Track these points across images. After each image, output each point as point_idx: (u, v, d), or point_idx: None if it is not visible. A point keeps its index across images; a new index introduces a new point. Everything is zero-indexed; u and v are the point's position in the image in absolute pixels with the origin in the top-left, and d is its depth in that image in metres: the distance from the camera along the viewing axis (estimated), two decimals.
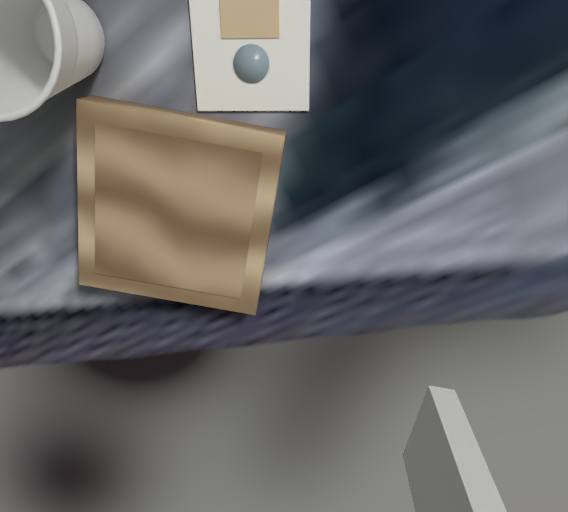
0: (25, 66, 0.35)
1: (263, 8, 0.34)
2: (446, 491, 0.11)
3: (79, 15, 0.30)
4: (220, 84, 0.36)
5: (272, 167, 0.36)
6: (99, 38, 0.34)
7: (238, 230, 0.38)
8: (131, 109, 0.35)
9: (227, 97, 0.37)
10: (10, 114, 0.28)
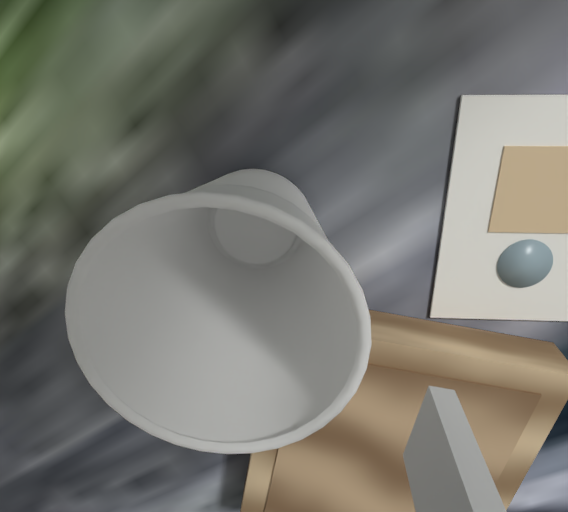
0: (204, 276, 0.23)
1: (562, 196, 0.23)
2: (446, 491, 0.11)
3: None
4: (471, 287, 0.25)
5: (550, 410, 0.25)
6: None
7: None
8: None
9: (478, 302, 0.26)
10: (252, 446, 0.17)
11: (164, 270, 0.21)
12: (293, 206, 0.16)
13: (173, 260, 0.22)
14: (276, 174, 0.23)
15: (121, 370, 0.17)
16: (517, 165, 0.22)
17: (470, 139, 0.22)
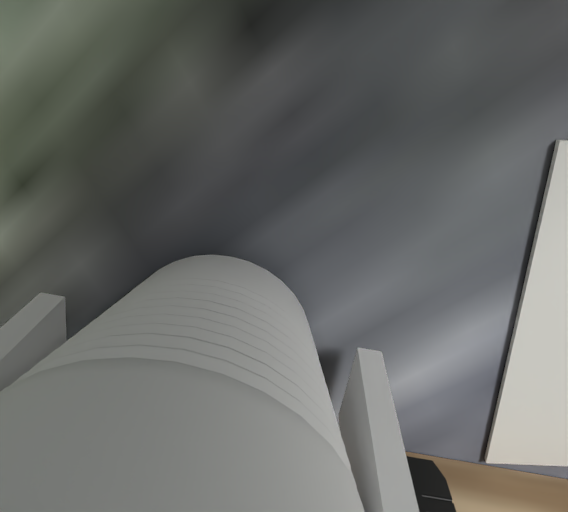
0: None
1: None
2: (360, 436, 0.12)
3: (336, 422, 0.10)
4: (552, 424, 0.17)
5: None
6: None
7: None
8: None
9: (560, 444, 0.17)
10: None
11: None
12: (266, 418, 0.07)
13: None
14: (249, 266, 0.14)
15: None
16: None
17: (567, 211, 0.13)
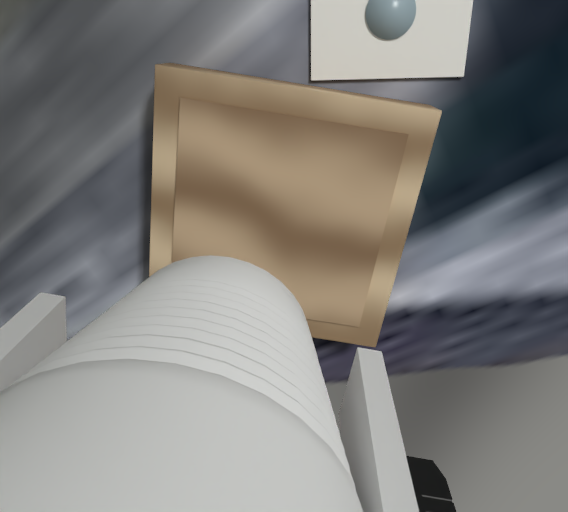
0: None
1: None
2: (359, 435, 0.12)
3: (335, 424, 0.10)
4: (345, 42, 0.27)
5: (420, 153, 0.26)
6: None
7: (364, 239, 0.29)
8: (230, 77, 0.25)
9: (353, 60, 0.27)
10: None
11: None
12: (265, 419, 0.07)
13: None
14: (248, 267, 0.14)
15: None
16: None
17: None
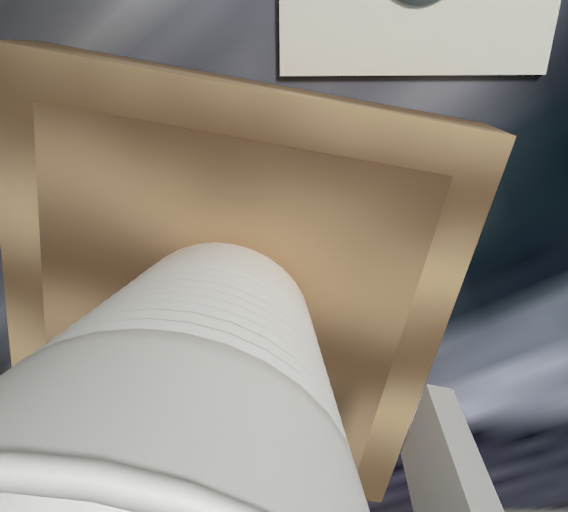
0: None
1: None
2: (443, 489, 0.11)
3: (333, 396, 0.11)
4: (339, 10, 0.15)
5: (471, 210, 0.15)
6: None
7: (367, 348, 0.17)
8: (124, 66, 0.14)
9: (353, 41, 0.15)
10: None
11: None
12: (266, 382, 0.08)
13: None
14: (251, 253, 0.14)
15: None
16: None
17: None
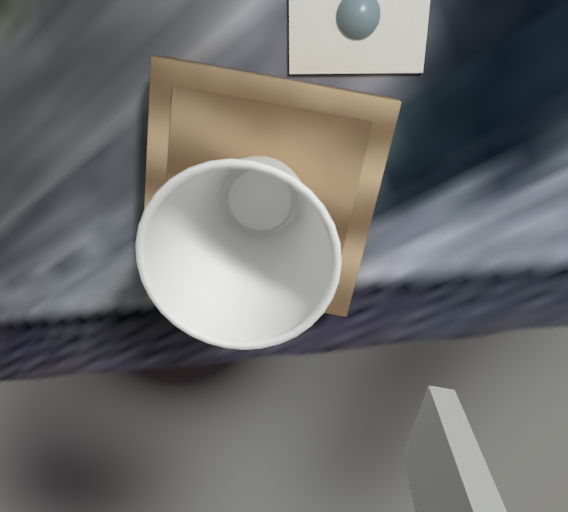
0: (221, 238, 0.31)
1: None
2: (445, 491, 0.11)
3: None
4: (319, 41, 0.31)
5: (383, 138, 0.30)
6: None
7: (335, 216, 0.32)
8: (217, 69, 0.29)
9: (326, 56, 0.31)
10: (261, 343, 0.24)
11: (193, 229, 0.28)
12: (288, 174, 0.23)
13: (199, 223, 0.29)
14: (276, 159, 0.30)
15: (168, 292, 0.24)
16: None
17: None
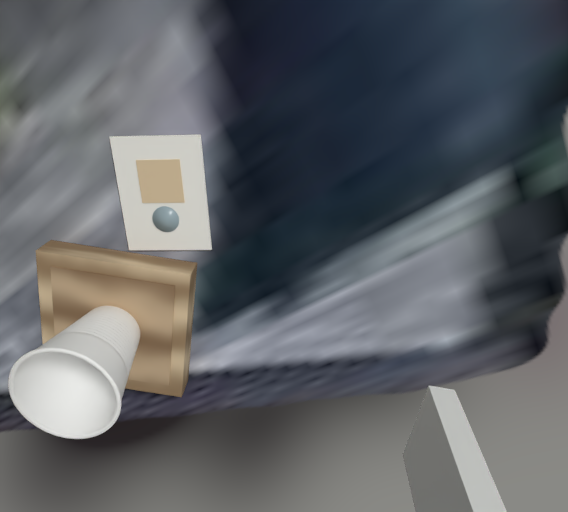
0: None
1: (170, 183, 0.46)
2: (446, 491, 0.11)
3: (126, 348, 0.45)
4: (144, 232, 0.49)
5: (183, 294, 0.48)
6: (137, 339, 0.48)
7: (162, 338, 0.50)
8: (76, 257, 0.47)
9: (150, 241, 0.49)
10: (85, 435, 0.42)
11: (60, 359, 0.46)
12: (97, 341, 0.41)
13: None
14: (116, 309, 0.48)
15: (34, 406, 0.42)
16: (144, 169, 0.46)
17: (119, 157, 0.46)
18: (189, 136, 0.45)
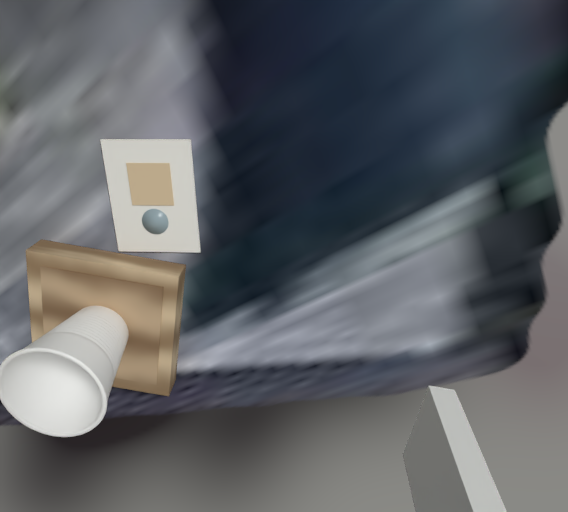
0: None
1: (160, 187, 0.47)
2: (445, 491, 0.11)
3: (114, 348, 0.45)
4: (134, 234, 0.49)
5: (171, 296, 0.49)
6: (125, 338, 0.49)
7: (150, 338, 0.51)
8: (66, 257, 0.48)
9: (139, 242, 0.50)
10: (72, 433, 0.43)
11: (48, 357, 0.47)
12: (85, 341, 0.42)
13: None
14: (105, 309, 0.49)
15: (22, 404, 0.43)
16: (134, 172, 0.46)
17: (110, 159, 0.46)
18: (179, 140, 0.45)
